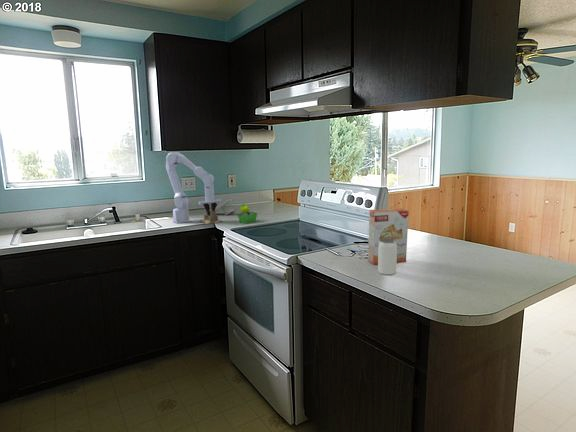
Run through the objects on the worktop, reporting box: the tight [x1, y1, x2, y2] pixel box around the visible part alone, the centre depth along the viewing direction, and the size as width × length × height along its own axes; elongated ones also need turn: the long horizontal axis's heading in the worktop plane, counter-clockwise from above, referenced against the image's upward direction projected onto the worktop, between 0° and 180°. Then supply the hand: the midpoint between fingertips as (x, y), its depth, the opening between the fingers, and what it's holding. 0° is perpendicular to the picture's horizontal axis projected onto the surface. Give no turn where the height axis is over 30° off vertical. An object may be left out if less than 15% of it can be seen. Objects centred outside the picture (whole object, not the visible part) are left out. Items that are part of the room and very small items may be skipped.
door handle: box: [215, 198, 235, 216], centre depth 271 cm, size 18×8×20 cm
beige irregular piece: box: [199, 214, 223, 225], centre depth 242 cm, size 10×12×4 cm
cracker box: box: [367, 208, 409, 265], centre depth 150 cm, size 14×6×21 cm, turn 100°
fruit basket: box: [237, 203, 258, 224], centre depth 238 cm, size 11×9×11 cm
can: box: [377, 239, 397, 276], centre depth 138 cm, size 6×6×12 cm
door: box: [205, 209, 217, 221], centre depth 241 cm, size 2×10×6 cm, turn 33°
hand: (210, 215), depth 241 cm, fingers closed on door, 2 cm apart
